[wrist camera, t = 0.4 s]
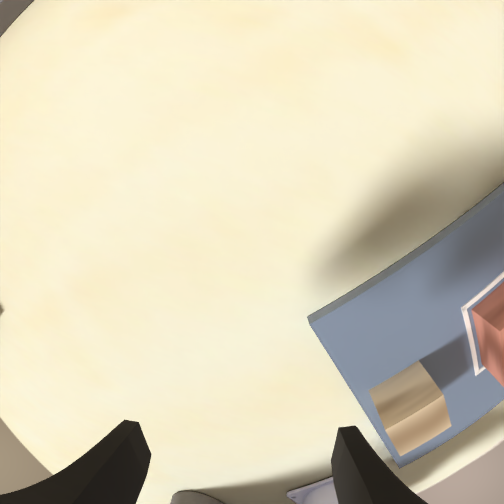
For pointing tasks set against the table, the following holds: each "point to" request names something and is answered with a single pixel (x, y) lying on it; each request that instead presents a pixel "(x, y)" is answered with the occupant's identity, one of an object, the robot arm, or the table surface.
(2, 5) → the grey tray
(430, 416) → the maple cube
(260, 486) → the table surface
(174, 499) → the flask
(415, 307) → the board
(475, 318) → the base block
